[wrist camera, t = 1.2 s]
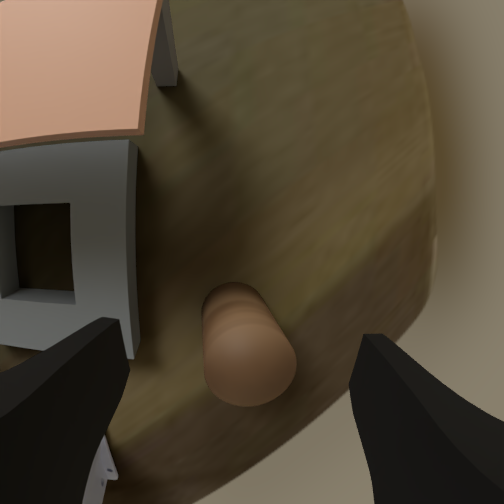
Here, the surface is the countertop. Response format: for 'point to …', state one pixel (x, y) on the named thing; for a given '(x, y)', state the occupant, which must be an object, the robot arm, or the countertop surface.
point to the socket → (73, 240)
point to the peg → (244, 347)
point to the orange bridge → (81, 67)
